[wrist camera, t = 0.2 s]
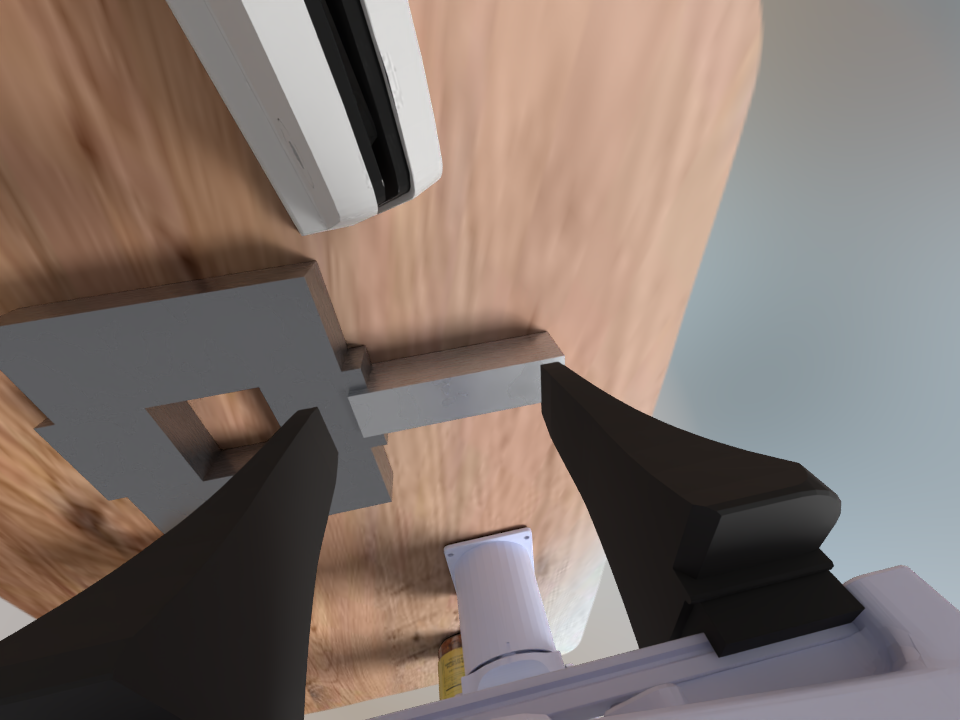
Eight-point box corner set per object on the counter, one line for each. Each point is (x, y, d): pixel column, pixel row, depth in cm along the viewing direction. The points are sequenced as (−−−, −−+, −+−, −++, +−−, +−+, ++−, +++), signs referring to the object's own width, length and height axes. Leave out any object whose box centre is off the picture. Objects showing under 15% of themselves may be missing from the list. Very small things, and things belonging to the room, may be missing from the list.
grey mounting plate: (549, 440, 28) (563, 470, 25) (181, 517, 26) (156, 558, 23) (545, 223, 19) (566, 236, 17) (-6, 312, 17) (-77, 342, 15)
